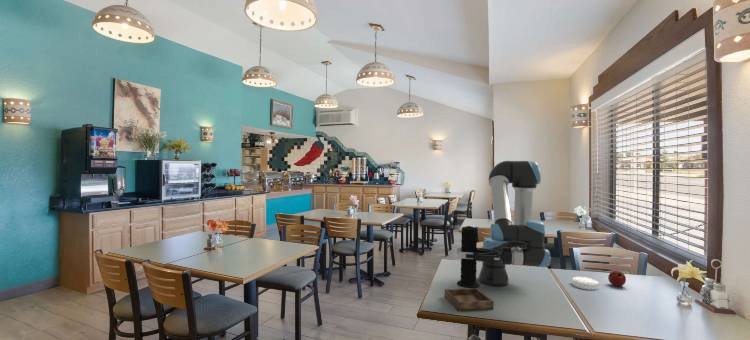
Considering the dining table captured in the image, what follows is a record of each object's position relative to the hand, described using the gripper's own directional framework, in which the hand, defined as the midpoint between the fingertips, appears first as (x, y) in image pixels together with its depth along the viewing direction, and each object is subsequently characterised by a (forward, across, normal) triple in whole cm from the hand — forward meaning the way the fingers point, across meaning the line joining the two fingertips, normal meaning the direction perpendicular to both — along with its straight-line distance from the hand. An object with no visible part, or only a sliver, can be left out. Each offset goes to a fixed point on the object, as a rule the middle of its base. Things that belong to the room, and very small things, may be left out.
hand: (457, 252), depth 155 cm
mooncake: (-67, -37, +23) cm, 80 cm away
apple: (-84, -41, +22) cm, 96 cm away
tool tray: (-5, 0, +22) cm, 23 cm away
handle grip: (-5, 0, +14) cm, 15 cm away
